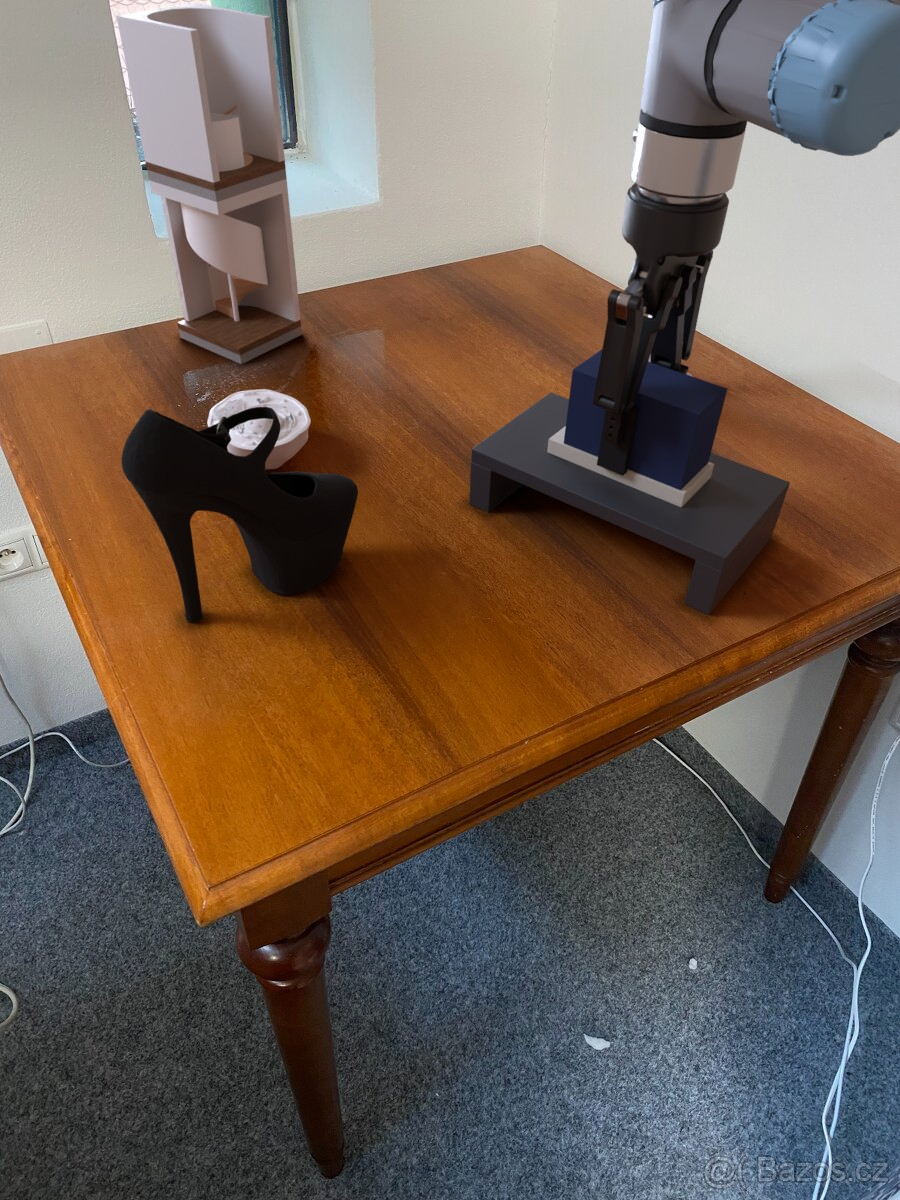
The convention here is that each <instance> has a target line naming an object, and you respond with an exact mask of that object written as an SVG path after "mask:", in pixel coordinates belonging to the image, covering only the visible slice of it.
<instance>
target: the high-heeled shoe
mask: <svg viewBox="0 0 900 1200" xmlns="http://www.w3.org/2000/svg"><path fill="white" fill-rule="evenodd" d="M263 418H265V419H273V423H272V426H271V428H270V430H269V432H268V433H267V435H266V436H265V437H264V439H263V440H262V441H261V442H260V443H259V445H258V446H257V447H256V448H255V449H254V450H253V451H252V453H251V454H249V455H247V456H236V455H234V454H232V453H230V452H228V449H227V446H228V444H229V443H230V441H231V437H230V435H229V432H230V429H232V428H234V427H236V426H237V425H239V424H242V423H244V422H247V421H249V420H255V419H263ZM279 434H280V422H279V419H278V417H277V415H276V413H275V411H274V410H273V409H272V408H269V407H255V408H250V409H246V410H244V411H241V412H239V413H237V414H234V415H231V416H230V417H228V418H226V417H224V416H223V417H222V418H221V419H220V421H219V423H217V424H215V425H213V426H210V427H208V426H207V427H206V428H203V429H200V430H196V429H194V428H192V427H190V426H187V425H186V424H184V423H182V422H179V421H178V420H175V419H173V418H171V417H169V416H166V415H164V414H161V413H159V412H158V411H155V410H153V409H152V408H147V409H146V410H145V411H144V412H143V414H142V415H141V416H140V417H139V418H138V420H137V422H136V423H135V425H134V426H133V428H132V430H131V431H130V433H129V435H128V436H127V437H126V441H125V442H124V445H123V449H122V453H121V468H122V472H123V474H124V476H125V478H126V479H127V480H128V482H130V483H131V485H132V487H133V488H134V490H135V491H136V493H137V494H138V496H139V497H140V499H141V500H142V502H143V503H144V505H145V507H146V509H147V510H148V512H149V513H150V515H151V517H152V518H153V521H154V522H155V524H156V527H158V529H159V532H160V534H161V536H162V537H163V541H164V542H165V544H166V548H167V549H168V551H169V554H170V557H171V559H172V562H173V565H174V568H175V570H176V571H175V572H176V574H177V578H178V581H179V585H180V591H181V596H182V600H183V606H184V618H185V621H187V622H188V623H198V622H201V621H203V619H204V613H203V609H202V608H203V607H202V601H201V594H200V588H199V587H200V585H199V578H198V577H199V576H198V572H197V571H198V570H197V564H196V556H195V550H194V542H193V533H192V528H191V520H192V518H193V516H194V515H195V513H196V512H211V513H217V514H221V515H224V516H226V517H227V518H228V519H230V520H232V522H234V524H235V525H236V527H237V529H238V531H239V533H240V535H241V538H242V540H243V543H244V546H245V548H246V551H247V553H248V556H249V560H250V564H251V572H252V573H253V575H254V576H255V578H256V579H257V580H258V581H259V582H260V583H261V585H262V586H263V587H264V588H266V589H267V590H268V591H271V592H272V593H275V594H277V595H280V596H290V595H296V594H300V593H303V592H306V591H309V590H310V589H312V588H314V587H316V586H317V585H319V584H321V583H322V582H323V581H325V580H326V579H328V578H329V577H330V576H331V575H332V574H333V573H334V572H335V571H336V569H337V568H338V566H339V565H340V563H341V561H342V558H343V555H344V548H345V545H346V542H347V538H348V535H349V532H350V531H349V530H350V527H351V524H352V521H353V517H354V514H355V509H356V505H357V501H358V497H359V489H358V485H357V484H356V482H355V481H354V480H353V479H351V478H350V477H348V476H347V475H344V474H339V473H322V472H306V471H283V472H266V469H265V462H266V460H267V458H268V456H269V455H270V453H271V452H272V450H273V448H274V446H275V444H276V442H277V440H278V437H279Z"/></svg>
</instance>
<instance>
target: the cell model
mask: <svg viewBox="0 0 900 1200" xmlns="http://www.w3.org/2000/svg"><path fill="white" fill-rule="evenodd" d="M255 407H269V408H272V409H273V410H274V411H275V413H276V415H277V417H278V419H279V422H280V434H279V437H278V440H277V442H276V444H275V446H274V448H273V450H272V452H271V453H270V455H269V456H268V458H267V460H266V462H265V470H276V469H278V468H280V467H281V466H283V465H284V464H285V463H286V462H288V461H289V460H291V459H292V458H293V457H295V456H296V455H297V453H298V452H299V451H300V450H301V449H302V448H303V447H304V445H306V443H307V441H308V439H309V428H310V425H311V417H310V414H309V411H308V409H307V407H306V406H305V405H304V404H302V402H300V401H299V400H298V399H296V398H294V397H292V396H290V395H287V394H285V393H281V392H278V391H275V390H272V389H267V388H263V389H260V388H259V389H249V390H247V389H246V390H242V391H237V392H234V393H231V394H230V395H228V396H227V397H224V398H223V399H222V400H221V401H219V402H218V403H216V404H215V405H214V406H212V407H211V409H210V410H209V413H208V417H207V420H206V421H207V424H206V425H207V428H208V427H210V426H213V425H215V424H217V423H219V421H220V419H221V418H222V417H223V416H224V417H226V418H228V417H230V416H231V415H234V414H237V413H239V412H241V411H244V410H246V409H250V408H255ZM272 423H273V419H265V418H263V419H255V420H249V421H247V422H244V423H242V424H239V425H237V426H236V427H234V428H232V429H230V432H229V435H230V437H231V441H230V443H229V444H228V446H227V449H228V452H230V453H232V454H234V455H236V456H247V455H249V454H251V453H252V451H253V450H254V449H255V448H256V447H257V446H258V445H259V443H260V442H261V441H262V440H263V439H264V437H265V436H266V435H267V433H268V432H269V430H270V428H271V426H272Z"/></svg>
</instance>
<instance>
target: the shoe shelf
mask: <svg viewBox="0 0 900 1200" xmlns="http://www.w3.org/2000/svg"><path fill="white" fill-rule="evenodd" d="M568 404H569V398H567V397H564V396H561V395H558V393H557V394H556V393H554V392H549V393H548V394H546V395H544V396H543V397H542V398H541V399H539V400H538V401H536V402H535V403H533V404H532V405H531V406H529V407H528V408H527V409H525V410H524V411H522V412H521V413H520V414H518V415H517V416H515V417H514V418H513V419H511V420H509V422H507V423H505V424H504V425H503V426H501V427H500V428H498V429H497V430H495V431H494V432H493V433H492V434H490V435H488V436H487V437H486V438H484V439H483V440H482V441H480V442H479V443H477V444H476V445H474V446H473V447H472V448H471V454H470V473H469V474H470V476H469V496H468V497H469V500H468V504H469V505H470V506H472V507H475V508H477V509H479V510H481V511H483V512H485V513H488V514H489V513H490V512H492V511H493V510H494V509H495V508H496V507H498V506H499V505H500V504H501V503H503V502H504V501H505V500H506V499H508V498H509V497H510V496H511V495H512V494H514V493H515V492H516V491H518V490H519V489H520V488H522V487H523V486H526V487H528V488H530V489H533V490H535V491H537V492H539V493H542V494H544V495H547V496H548V497H551V498H553V499H555V500H557V501H560V502H563V503H565V504H567V505H570V506H572V507H574V508H576V509H578V510H580V511H582V512H584V513H587V514H589V515H592V516H594V517H597V518H599V519H601V520H602V521H603V520H604V521H605V522H608V523H610V524H612V525H615V526H617V527H620V528H621V529H624V530H626V531H629V532H631V533H634V534H636V535H637V536H639V537H642V538H644V539H647V540H649V541H651V542H653V543H656V544H658V545H661V546H663V547H665V548H667V549H670V550H672V551H674V552H676V553H679V554H681V555H684V556H685V557H688V558H690V559H693V560H695V562H694V566H693V569H692V573H691V577H690V579H689V580H690V581H689V584H688V588H687V591H686V595H685V599H684V602H683V604H684V605H686V606H688V607H690V608H692V609H694V610H696V611H699V612H700V613H703V614H705V615H707V616H710V615H711V613H712V612H713V611H714V610H715V608H717V606H718V605H719V603H720V602H721V601H722V600H723V599H724V597H725V596H726V595H727V594H728V592H729V591H730V590H731V588H733V586H734V585H735V584H736V582H737V581H738V580H739V579H740V577H741V576H742V575H743V574H744V572H745V571H746V570H747V569H748V568H749V567H750V565H751V564H752V563H753V562H754V560H755V559H756V557H757V556H758V555H759V554H760V553H761V551H763V549H764V548H765V546H766V545H768V543H769V542H770V540H771V539H772V537H773V534H774V532H775V528H776V526H777V522H778V519H779V517H780V513H781V511H782V508H783V505H784V502H785V499H786V495H787V493H788V490H789V487H790V485H791V482H790V481H788V480H786V479H782V478H780V477H777V476H775V475H772V474H769V473H767V472H764V471H761V470H759V469H756V468H753V467H751V466H748V465H746V464H742V463H740V462H737V461H735V460H732V459H729V458H727V457H725V456H722V455H719V454H716V453H715V452H711V454H710V458H709V462H710V463H713V464H714V467H713V471H712V475H711V478H710V479H709V480H708V481H707V482H706V483H705V484H704V485H703V486H702V487H701V488H700V489H699V490H698V491H697V492H696V493H695V494H694V495H693V496H692V497H691V498H690V499H689V500H688V501H687V502H686V503H685V504H684V505H683V506H682V507H679V506H676V505H674V504H672V503H669V502H667V501H664V500H662V499H659V498H657V497H655V496H652V495H650V494H647V493H645V492H642V491H640V490H638V489H635V488H633V487H630V486H628V485H625V484H623V483H621V482H618V481H616V480H613V479H611V478H608V477H606V476H604V475H601V474H599V473H596V472H594V471H592V470H589V469H587V468H584V467H582V466H579V465H577V464H575V463H572V462H570V461H567V460H565V459H562V458H560V457H558V456H555V455H553V454H550V453H548V452H547V451H548V442H549V438H551V437H552V436H553V435H555V434H556V433H557V432H559V431H560V430H561V429H562V428H564V427H565V426H566V420H567V412H568Z"/></svg>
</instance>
